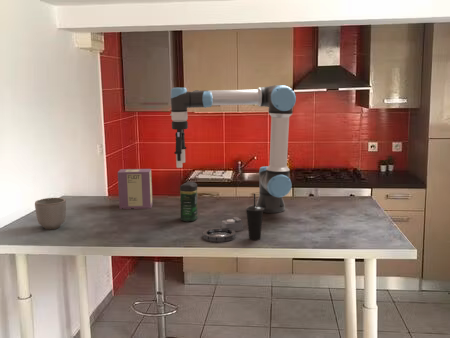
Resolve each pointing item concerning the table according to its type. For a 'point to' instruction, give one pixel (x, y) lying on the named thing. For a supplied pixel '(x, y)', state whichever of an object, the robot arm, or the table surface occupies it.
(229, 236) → the plate
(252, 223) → the drinking cup
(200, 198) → the table surface
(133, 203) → the box
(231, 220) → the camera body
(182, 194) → the coffee jar
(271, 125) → the robot arm
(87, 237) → the table surface
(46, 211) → the planter
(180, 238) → the table surface
